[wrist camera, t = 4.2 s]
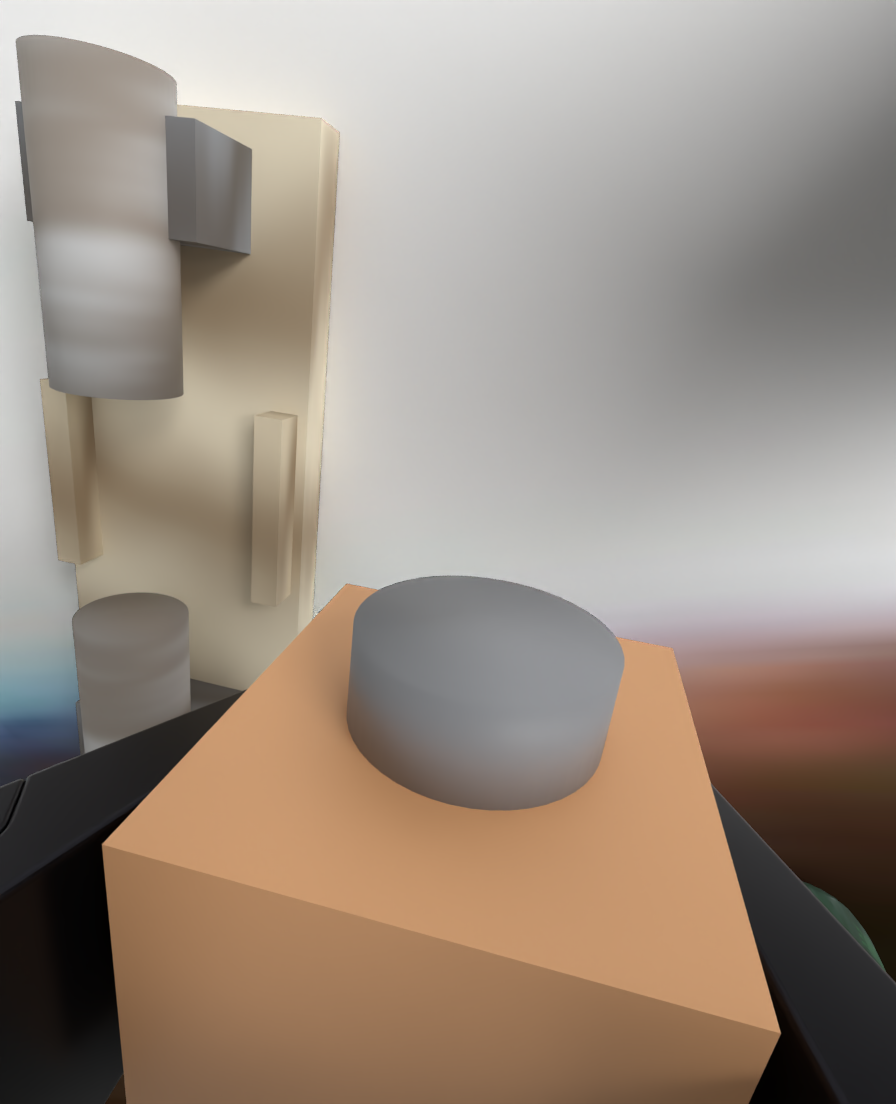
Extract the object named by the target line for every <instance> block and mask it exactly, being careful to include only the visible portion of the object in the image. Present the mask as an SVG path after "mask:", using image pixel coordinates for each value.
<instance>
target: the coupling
mask: <svg viewBox="0 0 896 1104" xmlns="http://www.w3.org/2000/svg"><path fill="white" fill-rule="evenodd" d="M102 851H103V862H104V872H105V882H106V893H107V903H108V914H109V924H110V935H111V945H112V956H113V966H114V977H115V987H116V997H117V1008H118V1018H119V1029H120V1039H121V1050H122V1060H123V1071H124V1081H125V1092H126V1102H127V1104H749V1101H750V1099H751V1097H752V1095H753V1093H754V1091H755V1088H756V1086H757V1084H758V1082H759V1080H760V1078H761V1076H762V1073H763V1071H764V1069H765V1067H766V1065H767V1063H768V1060H769V1058H770V1056H771V1054H772V1052H773V1050H774V1048H775V1045H776V1043H777V1041H778V1039H779V1037H780V1035H781V1032H780V1028H779V1025H778V1021H777V1018H776V1014H775V1010H774V1007H773V1003H772V1000H771V996H770V993H769V989H768V986H767V982H766V978H765V975H764V971H763V968H762V964H761V961H760V957H759V954H758V950H757V946H756V943H755V939H754V936H753V932H752V929H751V925H750V922H749V918H748V914H747V911H746V907H745V904H744V900H743V897H742V893H741V890H740V886H739V883H738V879H737V875H736V872H735V868H734V865H733V861H732V858H731V854H730V851H729V847H728V843H727V840H726V836H725V833H724V829H723V826H722V822H721V819H720V815H719V811H718V808H717V804H716V801H715V797H714V794H713V790H712V787H711V783H710V779H709V776H708V772H707V769H706V765H705V762H704V758H703V755H702V751H701V747H700V744H699V740H698V737H697V733H696V730H695V726H694V723H693V719H692V715H691V712H690V708H689V705H688V701H687V698H686V694H685V691H684V687H683V684H682V680H681V676H680V673H679V669H678V666H677V662H676V659H675V655H674V652H673V648H669V647H664V646H659V645H654V644H649V643H643V642H638V641H633V640H628V639H623V638H618V637H615V636H614V634H613V633H612V632H611V631H610V630H609V629H608V628H607V627H606V626H605V625H604V624H603V623H602V622H601V621H599V620H598V619H597V618H596V617H594V616H593V615H591V614H590V613H588V612H587V611H585V610H584V609H582V608H580V607H578V606H576V605H574V604H573V603H571V602H568V601H566V600H564V599H562V598H560V597H557V596H555V595H552V594H550V593H547V592H544V591H541V590H538V589H535V588H532V587H528V586H524V585H521V584H517V583H512V582H507V581H502V580H496V579H490V578H482V577H471V576H432V577H423V578H416V579H411V580H406V581H402V582H398V583H395V584H392V585H389V586H387V587H384V588H382V589H380V590H376V589H371V588H366V587H361V586H356V585H351V584H346V585H345V586H344V587H343V588H342V589H341V590H340V591H339V592H338V593H337V594H336V595H335V596H334V597H333V599H332V600H331V601H330V602H329V603H328V604H327V605H326V606H325V607H324V608H323V609H322V610H321V611H320V612H319V613H318V615H317V616H316V617H315V618H314V619H313V620H312V621H311V622H310V623H309V624H308V625H307V626H306V627H305V628H304V629H303V631H302V632H301V633H300V634H299V635H298V636H297V637H296V638H295V639H294V640H293V641H292V642H291V643H290V644H289V645H288V647H287V648H286V649H285V650H284V651H283V652H282V653H281V654H280V655H279V656H278V657H277V658H276V659H275V660H274V661H273V662H272V664H271V665H270V666H269V667H268V668H267V669H266V670H265V671H264V672H263V673H262V674H261V675H260V676H259V677H258V678H257V680H256V681H255V682H254V683H253V684H252V685H251V686H250V687H249V688H248V689H247V690H246V691H245V692H244V693H243V694H242V696H241V697H240V698H239V699H238V700H237V701H236V702H235V703H234V704H233V705H232V706H231V707H230V708H229V709H228V710H227V712H226V713H225V714H224V715H223V716H222V717H221V718H220V719H219V720H218V721H217V722H216V723H215V724H214V725H213V726H212V728H211V729H210V730H209V731H208V732H207V733H206V734H205V735H204V736H203V737H202V738H201V739H200V740H199V741H198V742H197V744H196V745H195V746H194V747H193V748H192V749H191V750H190V751H189V752H188V753H187V754H186V755H185V756H184V757H183V758H182V760H181V761H180V762H179V763H178V764H177V765H176V766H175V767H174V768H173V769H172V770H171V771H170V772H169V773H168V774H167V776H166V777H165V778H164V779H163V780H162V781H161V782H160V783H159V784H158V785H157V786H156V787H155V788H154V789H153V790H152V792H151V793H150V794H149V795H148V796H147V797H146V798H145V799H144V800H143V801H142V802H141V803H140V804H139V805H138V806H137V808H136V809H135V810H134V811H133V812H132V813H131V814H130V815H129V816H128V817H127V818H126V819H125V820H124V821H123V822H122V824H121V825H120V826H119V827H118V828H117V829H116V830H115V831H114V832H113V833H112V834H111V835H110V836H109V837H108V838H107V840H106V841H105V842H104V843H103V844H102Z"/></svg>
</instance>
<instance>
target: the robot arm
mask: <svg viewBox="0 0 896 1104" xmlns="http://www.w3.org/2000/svg"><path fill="white" fill-rule="evenodd" d="M246 690H247V689H246ZM246 690H243V691H241V692H238V693H236V694H233V695H231V696H228V697H226V698H223V699H221V700H218V701H215V702H213V703H210V704H208V705H205V706H203V707H200V708H198V709H195V710H193V711H190V712H188V713H185V714H183V715H180V716H178V717H175V718H173V719H170V720H168V721H165V722H163V723H160V724H158V725H155V726H153V727H150V728H148V729H145V730H142V731H140V732H137V733H135V734H132V735H130V736H127V737H125V738H122V739H120V740H117V741H115V742H112V743H110V744H107V745H105V746H102V747H100V748H97V749H95V750H92V751H90V752H87V753H85V754H82V755H79V756H77V757H74V758H72V759H69V760H67V761H64V762H62V763H59V764H57V765H54V766H52V767H49V768H47V769H44V770H42V771H39V772H37V773H34V774H32V775H30V776H28V777H27V779H26V781H25V780H23V779H19V780H16V781H14V782H11V783H9V784H6V785H4V786H1V787H0V1104H105V1102H106V1100H107V1099H108V1097H109V1095H110V1094H111V1092H112V1091H113V1089H114V1087H115V1086H116V1084H117V1082H118V1081H119V1079H120V1077H121V1076H122V1074H123V1072H124V1071H123V1060H122V1050H121V1039H120V1029H119V1018H118V1008H117V997H116V987H115V977H114V966H113V956H112V945H111V935H110V924H109V914H108V903H107V893H106V882H105V872H104V862H103V851H102V844H103V843H104V842H105V841H106V840H107V838H108V837H109V836H110V835H111V834H112V833H113V832H114V831H115V830H116V829H117V828H118V827H119V826H120V825H121V824H122V822H123V821H124V820H125V819H126V818H127V817H128V816H129V815H130V814H131V813H132V812H133V811H134V810H135V809H136V808H137V806H138V805H139V804H140V803H141V802H142V801H143V800H144V799H145V798H146V797H147V796H148V795H149V794H150V793H151V792H152V790H153V789H154V788H155V787H156V786H157V785H158V784H159V783H160V782H161V781H162V780H163V779H164V778H165V777H166V776H167V774H168V773H169V772H170V771H171V770H172V769H173V768H174V767H175V766H176V765H177V764H178V763H179V762H180V761H181V760H182V758H183V757H184V756H185V755H186V754H187V753H188V752H189V751H190V750H191V749H192V748H193V747H194V746H195V745H196V744H197V742H198V741H199V740H200V739H201V738H202V737H203V736H204V735H205V734H206V733H207V732H208V731H209V730H210V729H211V728H212V726H213V725H214V724H215V723H216V722H217V721H218V720H219V719H220V718H221V717H222V716H223V715H224V714H225V713H226V712H227V710H228V709H229V708H230V707H231V706H232V705H233V704H234V703H235V702H236V701H237V700H238V699H239V698H240V697H241V696H242V694H243V693H244V692H245V691H246ZM711 787H712V790H713V794H714V797H715V801H716V804H717V808H718V811H719V815H720V819H721V822H722V826H723V829H724V833H725V836H726V840H727V843H728V847H729V851H730V854H731V858H732V861H733V865H734V868H735V872H736V875H737V879H738V883H739V886H740V890H741V893H742V897H743V900H744V904H745V907H746V911H747V914H748V918H749V922H750V925H751V929H752V932H753V936H754V939H755V943H756V946H757V950H758V954H759V957H760V961H761V964H762V968H763V971H764V975H765V978H766V982H767V986H768V989H769V993H770V996H771V1000H772V1003H773V1007H774V1010H775V1014H776V1018H777V1021H778V1025H779V1028H780V1032H781V1035H780V1037H779V1039H778V1041H777V1043H776V1045H775V1048H774V1050H773V1052H772V1054H771V1056H770V1058H769V1060H768V1063H767V1065H766V1067H765V1069H764V1071H763V1073H762V1076H761V1078H760V1080H759V1082H758V1084H757V1086H756V1088H755V1091H754V1093H753V1095H752V1097H751V1099H750V1101H749V1104H896V983H895V981H894V980H893V979H892V978H891V977H890V976H889V975H888V974H887V973H886V972H885V971H884V970H883V969H882V967H881V966H880V965H879V964H878V963H877V962H876V961H875V960H874V959H873V958H872V957H871V956H870V955H869V953H868V952H867V951H866V950H865V949H864V948H863V947H862V946H861V945H860V944H859V943H858V942H857V940H856V939H855V938H854V937H853V936H852V935H851V934H850V933H849V932H848V931H847V930H846V929H845V928H844V926H843V925H842V924H841V923H840V922H839V921H838V920H837V919H836V918H835V917H834V916H833V915H832V914H831V912H830V911H829V910H828V909H827V908H826V907H825V906H824V905H823V904H822V903H821V902H820V901H819V899H818V898H817V897H816V896H815V895H814V894H813V893H812V892H811V891H810V890H809V889H808V888H807V887H806V885H805V884H804V883H803V882H802V881H801V880H800V879H799V878H798V877H797V876H796V875H795V874H794V873H793V871H792V870H791V869H790V868H789V867H788V866H787V865H786V864H785V863H784V862H783V861H782V860H781V859H780V857H779V856H778V855H777V854H776V853H775V852H774V851H773V850H772V849H771V848H770V847H769V846H768V844H767V843H766V842H765V841H764V840H763V839H762V838H761V837H760V836H759V835H758V834H757V833H756V832H755V830H754V829H753V828H752V827H751V826H750V825H749V824H748V823H747V822H746V821H745V820H744V819H743V818H742V816H741V815H740V814H739V813H738V812H737V811H736V810H735V809H734V808H733V807H732V806H731V805H730V803H729V802H728V801H727V800H726V799H725V798H724V797H723V796H722V795H721V794H720V793H719V792H718V791H717V789H716V788H715V787H714V786H713V785H712V784H711Z"/></svg>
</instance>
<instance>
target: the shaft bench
mask: <svg viewBox="0 0 896 1104" xmlns="http://www.w3.org/2000/svg"><path fill="white" fill-rule="evenodd" d="M16 49H17V60H18V70H19V80H20V90H21V101H22V102H20V101H15V104H16V114H17V124H18V134H19V144H20V154H21V164H22V174H23V184H24V194H25V204H26V214H27V221H32V222H33V224H34V235H35V245H36V255H37V265H38V276H39V286H40V296H41V307H42V317H43V327H44V337H45V348H46V358H47V368H48V379H40V385H41V395H42V404H43V414H44V424H45V434H46V444H47V453H48V463H49V473H50V483H51V493H52V502H53V512H54V522H55V532H56V542H57V552H58V560H60V561H65V562H69V563H74V564H75V568H76V579H77V590H78V600H79V610H78V611H77V612H76V613H75V614H74V616H73V619H72V626H73V636H74V646H75V656H76V667H77V677H78V687H79V698H80V700H79V701H77V702H76V713H77V723H78V733H79V743H80V753H81V755H82V754H85V753H87V752H90V751H92V750H95V749H97V748H100V747H102V746H105V745H107V744H110V743H112V742H115V741H117V740H120V739H122V738H125V737H127V736H130V735H132V734H135V733H137V732H140V731H142V730H145V729H148V728H150V727H153V726H155V725H158V724H160V723H163V722H165V721H168V720H170V719H173V718H175V717H178V716H180V715H183V714H185V713H188V712H190V711H193V710H195V709H198V708H200V707H203V706H205V705H208V704H210V703H213V702H215V701H218V700H221V699H223V698H226V697H228V696H231V695H233V694H236V693H238V692H241V691H243V690H246V689H248V688H249V687H250V686H251V685H252V684H253V683H254V682H255V681H256V680H257V678H258V677H259V676H260V675H261V674H262V673H263V672H264V671H265V670H266V669H267V668H268V667H269V666H270V665H271V664H272V662H273V661H274V660H275V659H276V658H277V657H278V656H279V655H280V654H281V653H282V652H283V651H284V650H285V649H286V648H287V647H288V645H289V644H290V643H291V642H292V641H293V640H294V639H295V638H296V637H297V636H298V635H299V634H300V633H301V632H302V631H303V629H304V628H305V627H306V626H307V625H308V624H309V623H310V622H311V621H312V618H313V600H314V583H315V565H316V547H317V529H318V511H319V493H320V475H321V457H322V439H323V421H324V404H325V386H326V368H327V350H328V332H329V314H330V296H331V278H332V260H333V242H334V225H335V207H336V189H337V171H338V153H339V135H340V132H339V131H337V130H336V129H335V128H333V127H332V126H331V125H330V124H328V123H327V122H326V121H325V120H323V119H322V118H315V117H305V116H294V115H283V114H272V113H262V112H251V111H240V110H230V109H219V108H208V107H197V106H187V105H177V83H176V81H175V80H174V78H173V77H172V76H170V75H169V74H168V73H166V72H165V71H163V70H161V69H159V68H158V67H156V66H154V65H152V64H150V63H147V62H145V61H143V60H140V59H138V58H135V57H133V56H130V55H127V54H124V53H122V52H119V51H115V50H112V49H109V48H106V47H102V46H99V45H95V44H91V43H87V42H82V41H78V40H73V39H68V38H62V37H55V36H46V35H26V36H21V37H19V38H17V39H16Z"/></svg>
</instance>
